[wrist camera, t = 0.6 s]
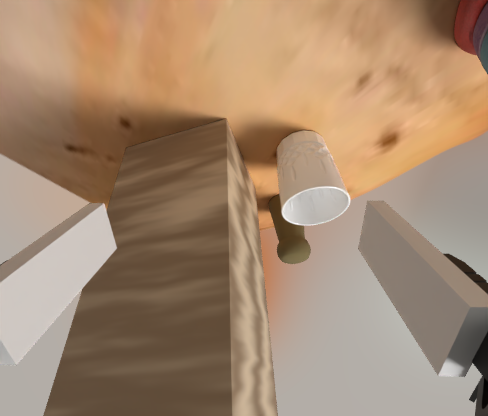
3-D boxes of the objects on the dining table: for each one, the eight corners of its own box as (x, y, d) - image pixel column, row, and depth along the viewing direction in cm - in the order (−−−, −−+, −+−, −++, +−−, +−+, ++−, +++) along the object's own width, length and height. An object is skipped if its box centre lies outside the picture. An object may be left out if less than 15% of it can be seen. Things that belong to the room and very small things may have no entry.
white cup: (277, 174, 40) (286, 230, 34) (266, 135, 33) (275, 196, 28) (329, 161, 38) (349, 218, 32) (328, 118, 32) (352, 179, 26)
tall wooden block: (126, 147, 34) (-2, 562, 14) (226, 118, 31) (235, 587, 12) (177, 205, 45) (145, 484, 26) (255, 188, 42) (284, 486, 23)
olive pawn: (266, 212, 48) (272, 268, 42) (271, 192, 43) (279, 252, 37) (297, 212, 49) (309, 267, 43) (306, 192, 44) (320, 251, 38)
